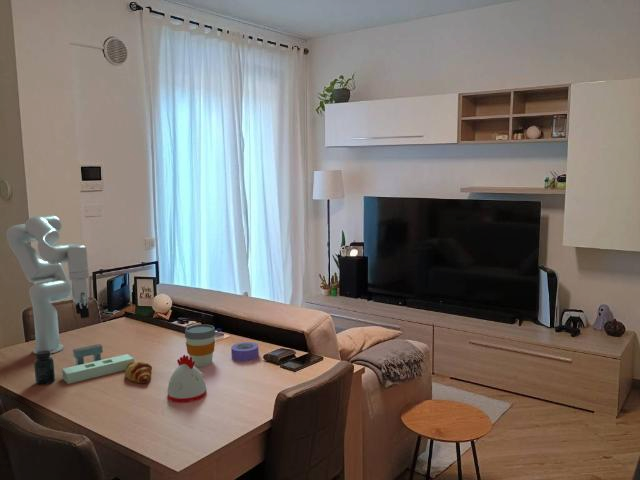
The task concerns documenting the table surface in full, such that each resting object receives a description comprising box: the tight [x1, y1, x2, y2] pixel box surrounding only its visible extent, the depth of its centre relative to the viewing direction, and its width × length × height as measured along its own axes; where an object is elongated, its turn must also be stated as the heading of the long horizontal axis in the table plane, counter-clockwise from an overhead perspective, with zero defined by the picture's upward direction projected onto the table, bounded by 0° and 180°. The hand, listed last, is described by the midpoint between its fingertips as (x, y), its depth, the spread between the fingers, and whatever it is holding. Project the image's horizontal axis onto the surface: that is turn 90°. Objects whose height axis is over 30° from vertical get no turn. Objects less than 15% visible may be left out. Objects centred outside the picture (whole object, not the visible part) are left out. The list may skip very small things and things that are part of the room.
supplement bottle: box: [33, 350, 56, 386], centre depth 213 cm, size 7×7×12 cm
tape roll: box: [230, 341, 260, 363], centre depth 239 cm, size 12×12×5 cm
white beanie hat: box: [167, 354, 208, 404], centre depth 200 cm, size 14×14×15 cm
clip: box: [72, 343, 104, 366], centre depth 232 cm, size 3×11×7 cm, turn 129°
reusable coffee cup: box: [184, 324, 216, 368], centre depth 232 cm, size 13×13×15 cm
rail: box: [61, 353, 135, 385], centre depth 222 cm, size 7×26×4 cm, turn 129°
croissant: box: [124, 361, 153, 384], centre depth 217 cm, size 21×10×8 cm, turn 35°
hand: (82, 315), depth 229 cm, fingers open, 9 cm apart
